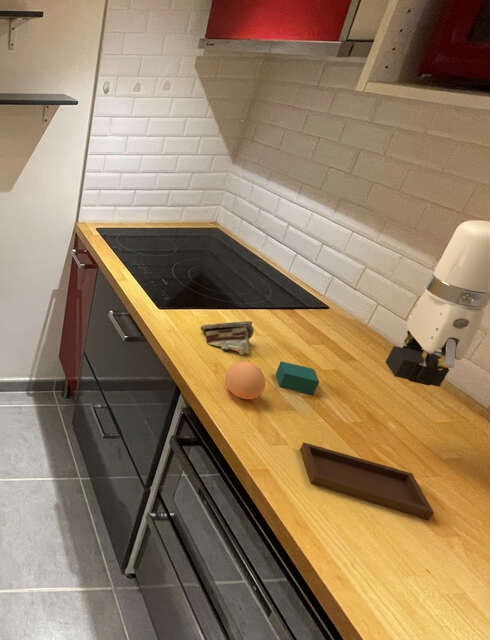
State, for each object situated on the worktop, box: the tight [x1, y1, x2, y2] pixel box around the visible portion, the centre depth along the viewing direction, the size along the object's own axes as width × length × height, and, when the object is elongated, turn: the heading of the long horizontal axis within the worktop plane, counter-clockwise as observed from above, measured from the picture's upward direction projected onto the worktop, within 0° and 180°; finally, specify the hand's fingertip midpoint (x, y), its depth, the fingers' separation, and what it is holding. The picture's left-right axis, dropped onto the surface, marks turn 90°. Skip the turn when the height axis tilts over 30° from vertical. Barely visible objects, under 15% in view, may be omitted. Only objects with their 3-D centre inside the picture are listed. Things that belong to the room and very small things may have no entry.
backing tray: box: [299, 442, 435, 521], centre depth 80 cm, size 16×8×2 cm, turn 66°
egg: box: [224, 360, 266, 400], centre depth 98 cm, size 7×7×8 cm
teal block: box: [275, 360, 320, 396], centre depth 102 cm, size 6×5×4 cm
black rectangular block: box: [385, 345, 450, 387], centre depth 84 cm, size 6×5×4 cm
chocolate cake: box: [200, 320, 255, 356], centre depth 115 cm, size 10×7×12 cm
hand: (412, 372), depth 85 cm, fingers closed on black rectangular block, 4 cm apart
